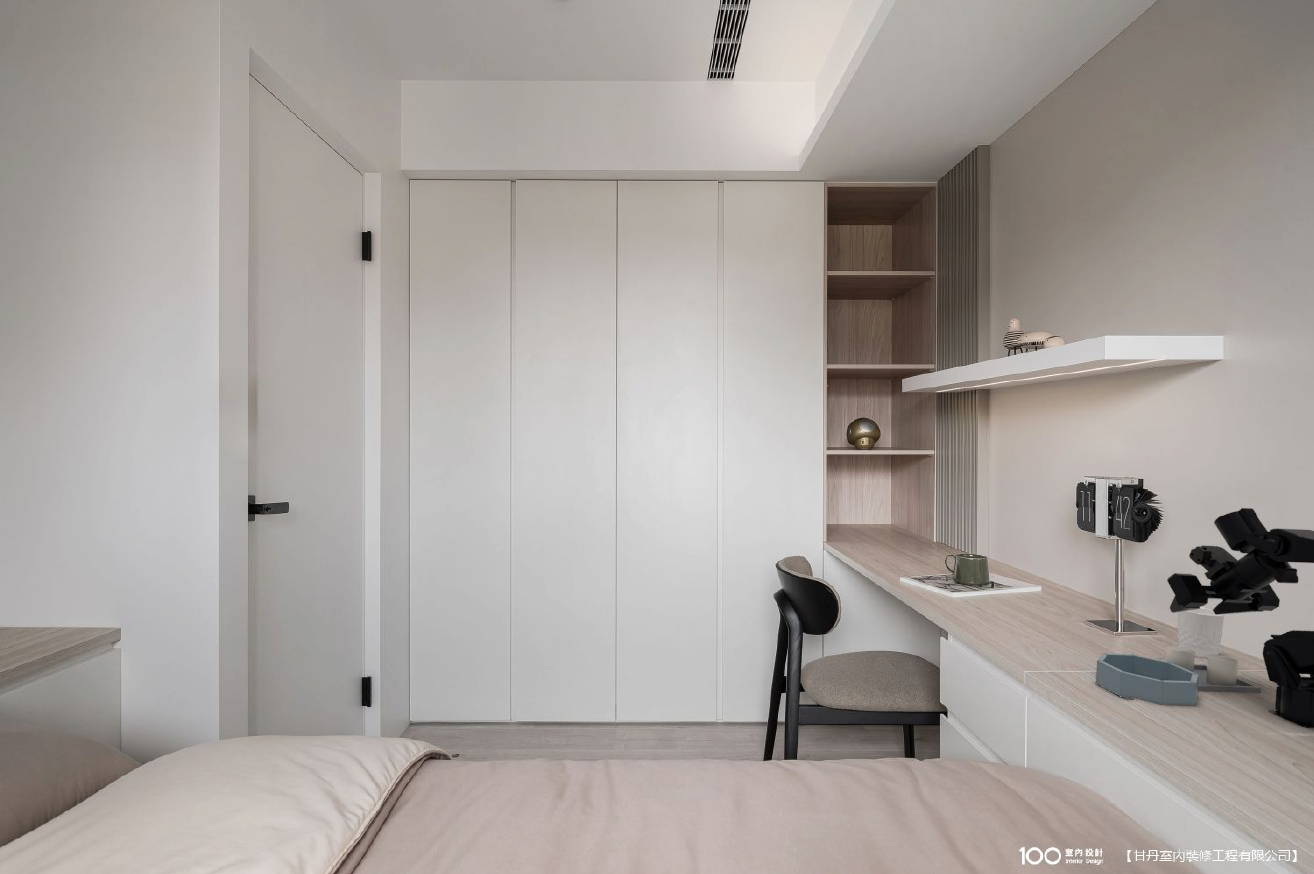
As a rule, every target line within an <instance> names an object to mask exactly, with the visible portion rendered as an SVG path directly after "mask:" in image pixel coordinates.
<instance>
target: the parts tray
mask: <svg viewBox="0 0 1314 874" xmlns="http://www.w3.org/2000/svg"><path fill="white" fill-rule="evenodd" d="M1194 673H1196V674H1199V680H1198V692H1216V693H1218V692H1220V693H1224V692H1225V693H1253V694H1254V693H1255V694H1256V693H1259V694H1261V693H1262V687H1260V686H1258V685H1256V684H1253V683H1251V682H1248V681H1246V680H1243V679H1241V678H1238V677H1237V685H1236V686H1225V685H1211V684H1209V683H1207V682H1206V677H1207V664H1199V663H1198V664H1197V663H1194Z"/></svg>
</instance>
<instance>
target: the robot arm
mask: <svg viewBox="0 0 1314 874" xmlns="http://www.w3.org/2000/svg"><path fill="white" fill-rule="evenodd" d="M1213 522H1214V523H1213V524H1214V525H1215V527H1216V528H1217V530H1218V532H1219V533H1220V535H1221V536H1222V538H1223V539H1224V540H1225V542H1226V544H1227V546H1228V547H1229V548H1230V550H1231V551H1233V552H1234V551H1235V552H1239V553H1241V554H1244V555H1243V556H1241V558H1239V559H1237V558H1236V557H1234V556H1233V555H1232V554H1231V553H1230V552H1228V550H1226V549H1225V548H1224V547H1221V546H1217V545H1201V546H1200V545H1198V546H1195V547H1194V548H1191V550H1190V552H1189V554H1188V555H1189V558H1190V560H1191V561H1193V562H1194V563H1195V564H1196V565H1197V566H1198V565H1200V566H1201V567H1202V568H1203V569H1204V570H1206V572H1204V576H1205V577H1206V580H1207V579H1208V580H1210V582H1209V585H1203V584H1202V583H1201V581H1200V580H1199V578H1198V575H1195V574H1192V573H1178V572H1176V573H1173V574H1171V575H1170V576H1169V577H1168V578H1167V579H1166V581H1167V583H1168V586H1169V587H1170V588H1171V590H1172V592H1173V594H1174V597H1173V599H1172V601H1171V604H1170V605H1169V610H1170V612H1171V613H1173V614H1174V613H1175V614H1176V613H1178V612H1182V611H1188V610H1194V609H1200V607H1204V606H1206V605H1207V604H1208V601H1209V599H1211V600H1221V601H1220V602H1219V603H1218V604H1217V605H1216V606H1215V607H1214V608H1213V609H1212V610H1213V611H1214V613H1215V614H1216V615H1219V614H1224V615H1230V614H1231V615H1232V614H1242V613H1243V614H1244V613H1245V614H1247V613H1256V612H1257V613H1259V612H1260V613H1261V612H1264V611H1265V612H1266V611H1267V612H1273V611H1274V610H1276V609H1277V608H1279V607H1280V602H1281V599H1280V598H1279V596H1278V595H1277V593H1276V592H1275V589H1273V587H1272V586H1271V583H1273V582H1274V581H1276V582H1277V583H1278V584H1298V583H1299V575H1298V569H1297V568H1294V567H1292V566H1291V564H1290V563H1299V564H1300V563H1305V564H1306V563H1307V564H1314V530H1311V529H1295V528H1272V529H1270V530H1269V531H1268V530H1267V528H1266V527H1265V526H1264V524H1263V523H1262V521H1261V520H1260V519H1259V516H1258V514H1257V512H1256V511H1255V509H1254V508H1250V507H1248V508H1247V507H1241V508H1240V509H1238V510H1237V511H1232V512H1228V513H1226V514H1223V515H1219V516H1218V517H1217V518H1215V520H1214V521H1213ZM1270 637H1271V638H1270V639H1267V640H1266V641H1264V642H1263V649H1262V657H1263V660H1264V666H1265V669H1266V673H1267V676H1268V680H1269V681H1270V682H1272V683H1275V684H1276V685H1277V686H1276V689H1275V690H1276V692H1275V704H1274V705H1275V707H1274V708H1275V709H1274V710H1268V711H1267V712H1268V713H1271V714H1273V715H1275V716H1277V717H1280V718H1282V719H1284V720H1285V721H1286V720H1287V721H1288V722H1291V723H1293V724H1295V725H1297V726H1300V727H1302V728H1306V729H1314V630H1297V629H1293V630H1289V631H1287V632H1284V633H1281V634H1270ZM1302 675H1309V676H1302Z"/></svg>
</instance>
